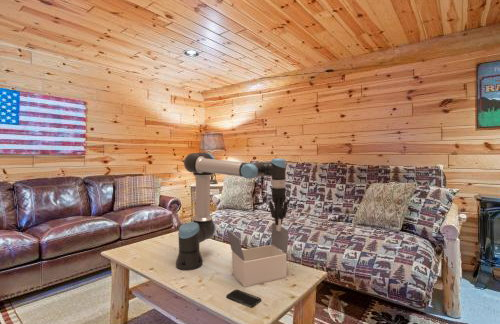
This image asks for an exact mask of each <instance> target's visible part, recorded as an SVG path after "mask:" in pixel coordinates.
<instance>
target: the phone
mask: <svg viewBox="0 0 500 324" xmlns="http://www.w3.org/2000/svg"><path fill="white" fill-rule="evenodd" d="M225 296H226V299H227V300H230V301H232V302H233V301H234V302H235V303H237V304H240V305H243V306H245V307H248V308H251V309H253V308H254V307H256V306H258V305H259V304H260V303H261V302H262V298H261V297H258V296H256V295H253V294H251V293H248V292H245V291H243V290H240V289H234V290H232V291H231V292H229V293H228V294H226V295H225Z"/></svg>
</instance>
